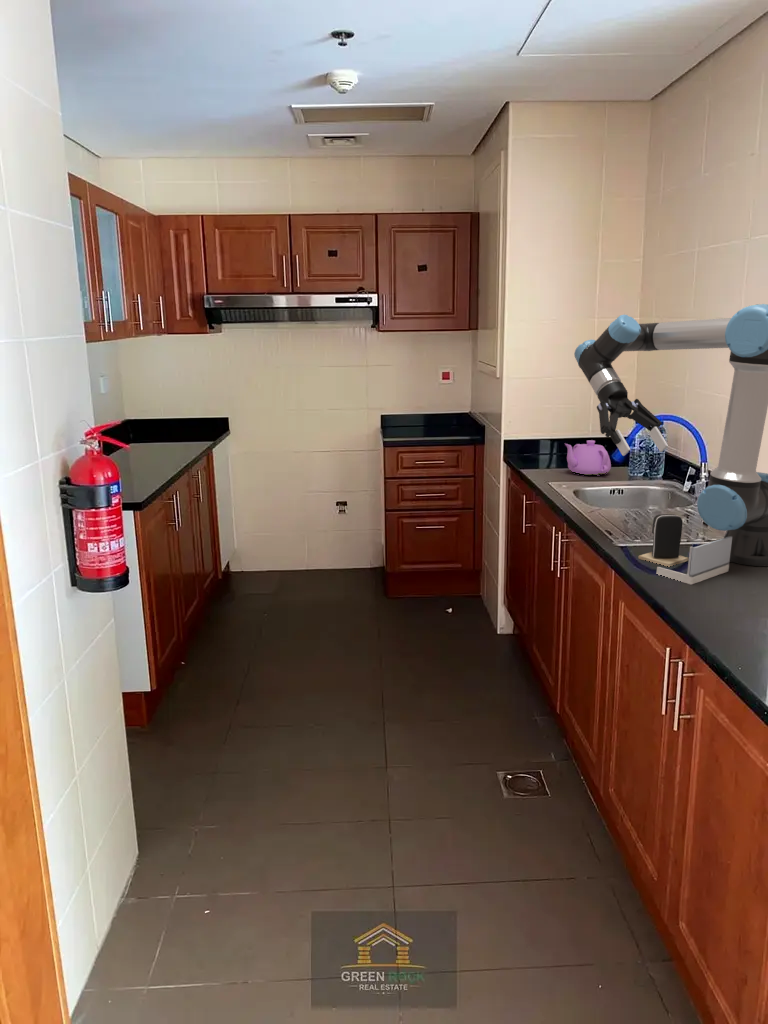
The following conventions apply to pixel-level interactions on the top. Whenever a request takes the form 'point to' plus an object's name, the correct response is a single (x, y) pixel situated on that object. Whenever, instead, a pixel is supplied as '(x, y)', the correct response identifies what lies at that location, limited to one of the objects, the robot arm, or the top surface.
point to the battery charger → (666, 536)
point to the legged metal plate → (703, 562)
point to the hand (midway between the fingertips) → (645, 450)
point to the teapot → (588, 458)
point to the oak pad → (663, 559)
